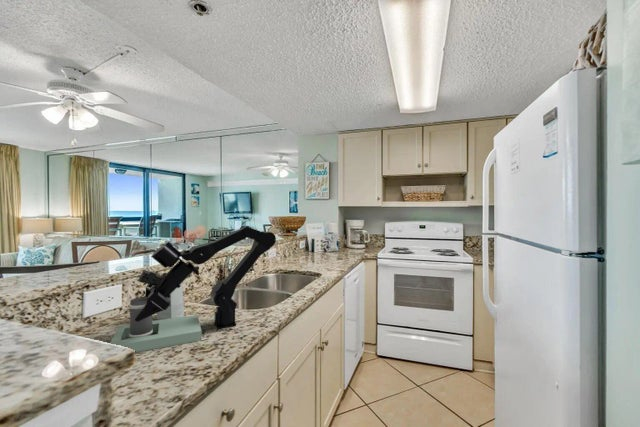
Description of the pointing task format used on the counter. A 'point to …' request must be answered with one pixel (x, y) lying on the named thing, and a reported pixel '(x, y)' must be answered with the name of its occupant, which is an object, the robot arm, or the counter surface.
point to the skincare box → (174, 305)
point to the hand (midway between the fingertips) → (135, 315)
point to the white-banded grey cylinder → (143, 325)
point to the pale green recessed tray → (161, 334)
